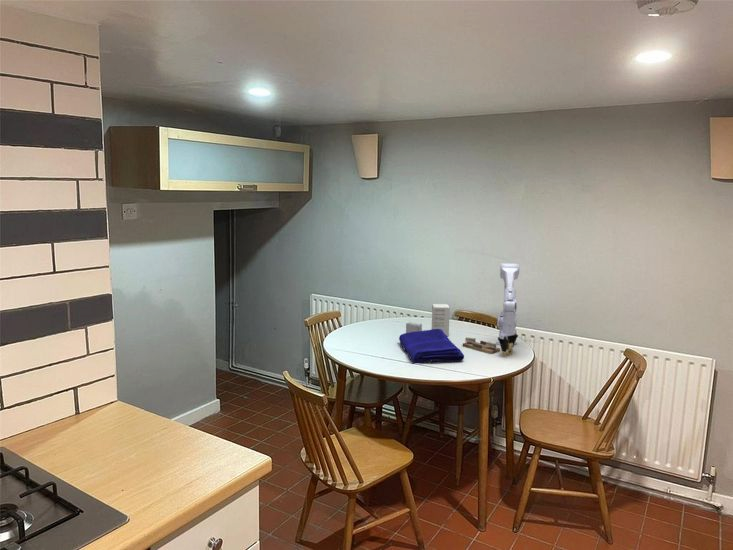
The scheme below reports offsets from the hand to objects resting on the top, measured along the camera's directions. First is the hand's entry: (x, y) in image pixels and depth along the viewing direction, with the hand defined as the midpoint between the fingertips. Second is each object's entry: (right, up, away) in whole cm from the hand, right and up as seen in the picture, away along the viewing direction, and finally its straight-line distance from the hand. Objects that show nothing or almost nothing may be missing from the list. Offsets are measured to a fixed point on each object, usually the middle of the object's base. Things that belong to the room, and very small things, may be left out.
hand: (507, 349), depth 275 cm
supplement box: (-30, +4, +35) cm, 46 cm away
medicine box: (-46, +3, +26) cm, 53 cm away
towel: (-40, -2, +2) cm, 40 cm away
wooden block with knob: (0, -2, 0) cm, 2 cm away
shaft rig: (-12, -1, +9) cm, 14 cm away
